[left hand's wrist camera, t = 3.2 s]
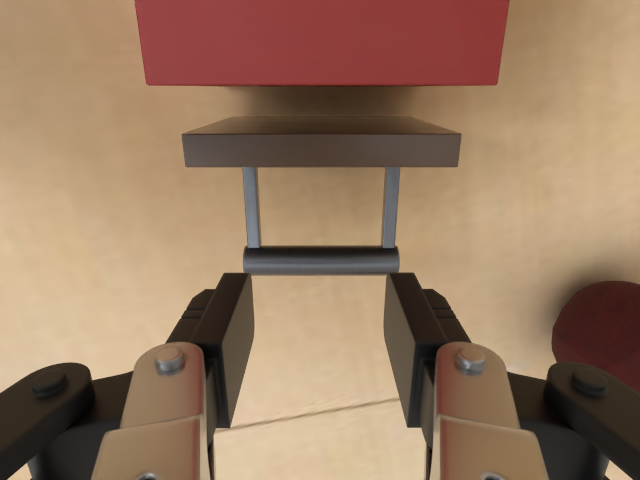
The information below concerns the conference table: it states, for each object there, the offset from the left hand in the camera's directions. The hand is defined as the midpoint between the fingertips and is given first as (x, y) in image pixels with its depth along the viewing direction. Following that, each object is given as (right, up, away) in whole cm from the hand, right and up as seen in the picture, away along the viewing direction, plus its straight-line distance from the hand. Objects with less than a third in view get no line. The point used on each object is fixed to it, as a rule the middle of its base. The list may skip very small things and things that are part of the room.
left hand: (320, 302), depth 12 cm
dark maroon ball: (+18, -3, +16) cm, 25 cm away
